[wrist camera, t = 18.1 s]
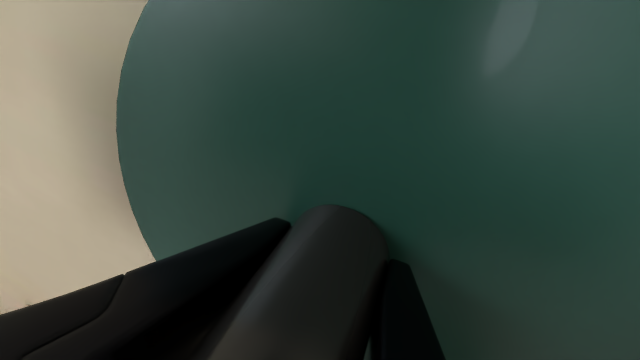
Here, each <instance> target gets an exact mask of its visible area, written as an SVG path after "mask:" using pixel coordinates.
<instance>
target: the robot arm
mask: <svg viewBox="0 0 640 360" xmlns="http://www.w3.org/2000/svg"><path fill="white" fill-rule="evenodd" d="M291 227H292V226H291V223H290V222H289V221H286V220H284V219H281V218H278V217H274V218H271V219H268V220H266V221H263V222H260V223H258V224H255V225H252V226H250V227H247V228H244V229H242V230H239V231H236V232H234V233H231V234H228V235H226V236H223V237H220V238H218V239H215V240H212V241H210V242H207V243H204V244H202V245H199V246H196V247H193V248H191V249H188V250H185V251H183V252H180V253H177V254H175V255H172V256H169V257H167V258H164V259H161V260H159V261H156V262H153V263H151V264H148V265H145V266H143V267H140V268H137V269H135V270H132V271H129V272H127V273H126V274H125V276H124V275H123V274H121V275H118V276H115V277H113V278H110V279H107V280H105V281H102V282H99V283H97V284H94V285H91V286H88V287H85V288H82V289H80V290H77V291H74V292H71V293H68V294H65V295H62V296H59V297H56V298H53V299H50V300H47V301H43V302H40V303H37V304H34V305H31V306H28V307H25V308H21V309H18V310H15V311H12V312H8V313H5V314H2V315H0V360H186V359H187V358H188V356H189V355H190V354H191V353H192V351H193V350H194V349H195V348H196V346H197V345H198V344H199V343H200V341H201V340H202V339H203V338H204V336H205V335H206V334H207V333H208V331H209V330H210V329H211V327H212V326H213V325H214V324H215V322H216V321H217V320H218V319H219V317H220V316H221V315H222V314H223V312H224V311H225V310H226V309H227V307H228V306H229V305H230V304H231V302H232V301H233V300H234V298H235V297H236V296H237V295H238V293H239V292H240V291H241V290H242V288H243V287H244V286H245V285H246V283H247V282H248V281H249V280H250V278H251V277H252V276H253V275H254V273H255V272H256V271H257V269H258V268H259V267H260V266H261V264H262V263H263V262H264V261H265V259H266V258H267V257H268V256H269V254H270V253H271V252H272V251H273V249H274V248H275V247H276V246H277V244H278V243H279V242H280V240H281V239H282V238H283V237H284V235H285V234H286V233H287V232H288V230H289V229H290V228H291ZM364 360H446V358H445V356H444V353H443V351H442V348H441V345H440V343H439V340H438V338H437V335H436V332H435V330H434V327H433V325H432V322H431V319H430V317H429V314H428V311H427V309H426V306H425V304H424V301H423V298H422V296H421V293H420V291H419V288H418V285H417V283H416V280H415V278H414V275H413V272H412V270H411V267H410V265H409V264H407V263H405V262H402V261H399V260H396V259H391V260H390V262H389V264H388V268H387V271H386V275H385V279H384V283H383V286H382V290H381V294H380V298H379V301H378V305H377V309H376V313H375V317H374V322H373V326H372V330H371V334H370V338H369V341H368V345H367V349H366V353H365V356H364Z"/></svg>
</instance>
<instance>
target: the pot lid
mask: <svg viewBox="0 0 640 360" xmlns="http://www.w3.org/2000/svg"><path fill="white" fill-rule="evenodd" d="M116 133H117V143H118V154H119V161H120V166H121V171H122V176H123V181H124V185H125V189H126V192H127V195H128V198H129V202H130V205H131V208H132V211H133V214H134V216H135V218H136V221H137V223H138V226H139V228H140V230H141V233H142V235H143V237H144V239H145V241H146V243H147V245H148V247H149V249H150V251H151V253H152V254H153V256H154V258H155V260H156V261H159V260H161V259H164V258H167V257H169V256H172V255H175V254H177V253H180V252H183V251H185V250H188V249H191V248H193V247H196V246H199V245H202V244H204V243H207V242H210V241H212V240H215V239H218V238H220V237H223V236H226V235H228V234H231V233H234V232H236V231H239V230H242V229H244V228H247V227H250V226H252V225H255V224H258V223H260V222H263V221H266V220H268V219H271V218H274V217H278V218H281V219H284V220H286V221H289V222H290V223H291V226H292V227H291V228H290V229H289V230H288V232H287V233H286V234H285V235H284V237H283V238H282V239H281V240H280V242H279V243H278V244H277V246H276V247H275V248H274V249H273V251H272V252H271V253H270V254H269V256H268V257H267V258H266V259H265V261H264V262H263V263H262V264H261V266H260V267H259V268H258V269H257V271H256V272H255V273H254V275H253V276H252V277H251V278H250V280H249V281H248V282H247V283H246V285H245V286H244V287H243V288H242V290H241V291H240V292H239V293H238V295H237V296H236V297H235V298H234V300H233V301H232V302H231V304H230V305H229V306H228V307H227V309H226V310H225V311H224V312H223V314H222V315H221V316H220V317H219V319H218V320H217V321H216V322H215V324H214V325H213V326H212V327H211V329H210V330H209V331H208V333H207V334H206V335H205V336H204V338H203V339H202V340H201V341H200V343H199V344H198V345H197V346H196V348H195V349H194V350H193V351H192V353H191V354H190V355H189V356H188V358H187V359H186V360H364V356H365V353H366V349H367V345H368V341H369V338H370V334H371V330H372V326H373V322H374V317H375V313H376V309H377V305H378V301H379V298H380V294H381V290H382V286H383V283H384V279H385V275H386V271H387V268H388V264H389V262H390V260H391V259H396V260H399V261H402V262H405V263H407V264H409V265H410V267H411V270H412V272H413V275H414V278H415V280H416V283H417V285H418V288H419V291H420V293H421V296H422V298H423V301H424V304H425V306H426V309H427V311H428V314H429V317H430V319H431V322H432V325H433V327H434V330H435V332H436V335H437V338H438V340H439V343H440V345H441V348H442V351H443V353H444V356H445V358H446V360H640V0H149V1H148V2H147V4H146V5H145V7H144V9H143V11H142V14H141V16H140V18H139V20H138V23H137V25H136V27H135V29H134V32H133V34H132V36H131V38H130V41H129V45H128V48H127V52H126V55H125V59H124V63H123V66H122V70H121V76H120V83H119V90H118V97H117V119H116Z"/></svg>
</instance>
